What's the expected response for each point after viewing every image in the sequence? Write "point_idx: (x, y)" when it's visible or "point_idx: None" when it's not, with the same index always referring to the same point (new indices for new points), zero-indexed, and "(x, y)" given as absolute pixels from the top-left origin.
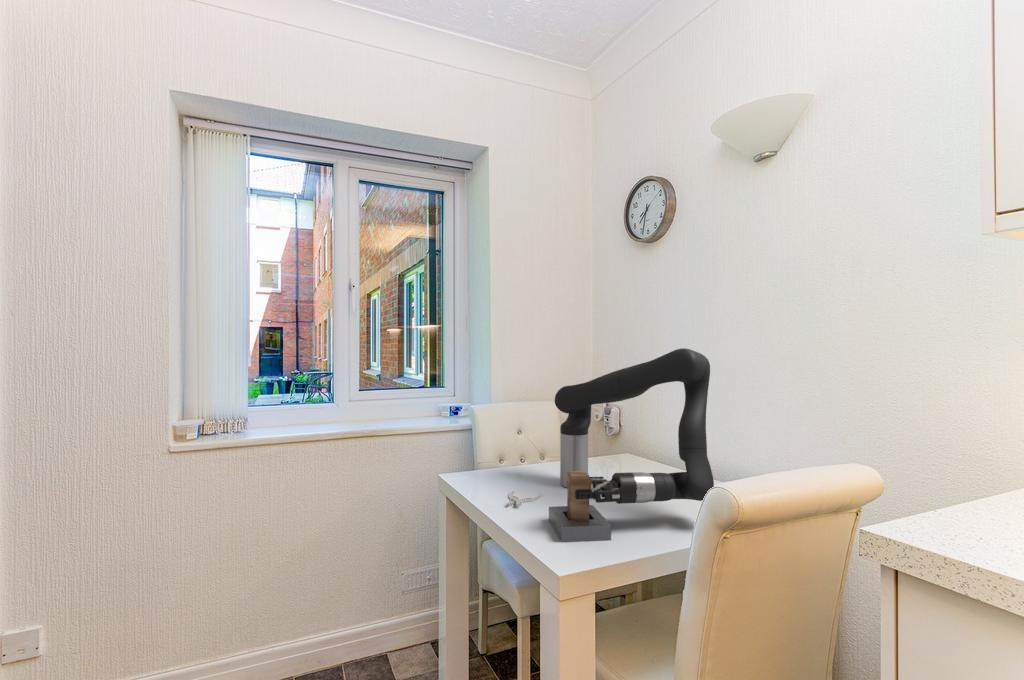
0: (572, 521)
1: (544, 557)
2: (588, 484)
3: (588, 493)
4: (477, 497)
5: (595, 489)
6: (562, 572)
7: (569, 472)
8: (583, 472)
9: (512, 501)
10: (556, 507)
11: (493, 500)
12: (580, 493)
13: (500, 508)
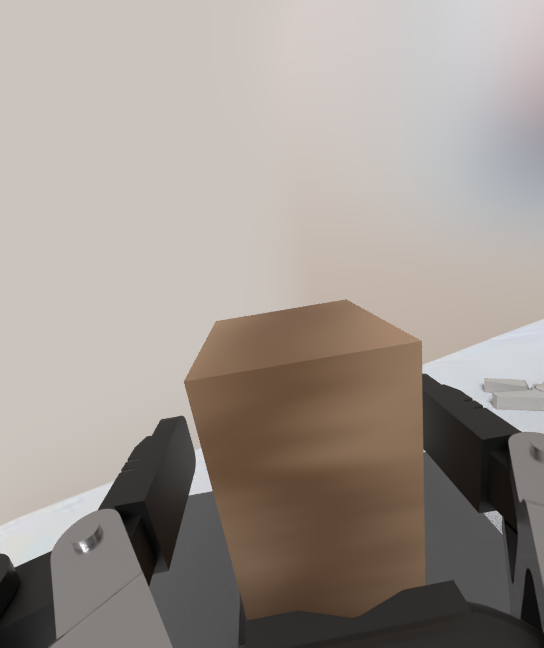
0: (221, 552)
1: (101, 492)
2: (212, 470)
3: (107, 507)
4: (514, 344)
5: (73, 563)
6: None
7: (311, 306)
8: (330, 342)
9: (519, 384)
10: (434, 480)
11: (521, 363)
12: (138, 452)
13: (462, 381)
